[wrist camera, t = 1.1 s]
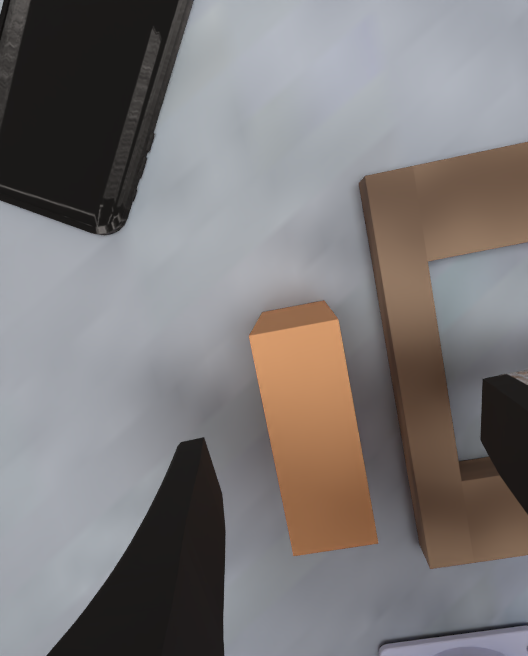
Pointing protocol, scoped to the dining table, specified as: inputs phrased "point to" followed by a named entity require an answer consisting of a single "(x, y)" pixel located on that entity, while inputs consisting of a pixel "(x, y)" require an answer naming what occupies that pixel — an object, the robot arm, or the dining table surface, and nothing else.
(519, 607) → the dining table surface
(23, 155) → the phone
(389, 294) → the brown wooden frame
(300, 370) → the orange arch block
